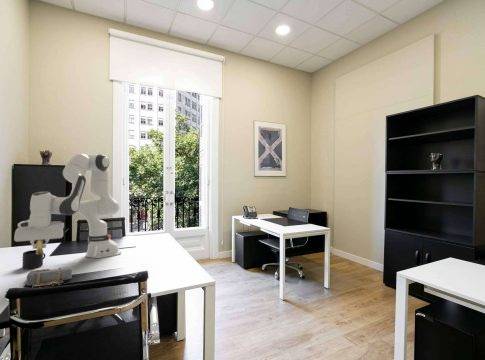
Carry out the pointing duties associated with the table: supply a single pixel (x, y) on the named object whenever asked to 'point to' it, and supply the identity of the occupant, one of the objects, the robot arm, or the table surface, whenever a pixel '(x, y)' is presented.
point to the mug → (32, 260)
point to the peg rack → (48, 282)
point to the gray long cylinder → (49, 276)
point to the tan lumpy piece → (39, 270)
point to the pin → (39, 247)
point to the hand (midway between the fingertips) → (39, 248)
